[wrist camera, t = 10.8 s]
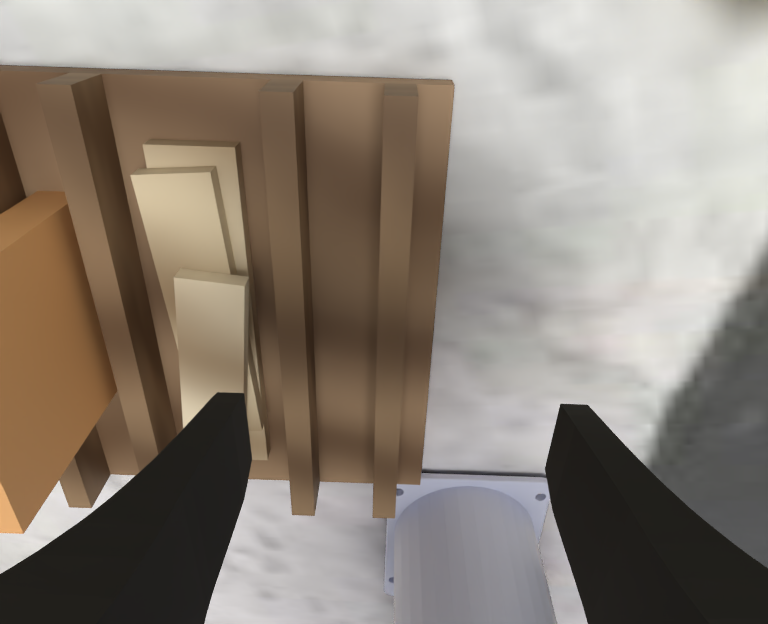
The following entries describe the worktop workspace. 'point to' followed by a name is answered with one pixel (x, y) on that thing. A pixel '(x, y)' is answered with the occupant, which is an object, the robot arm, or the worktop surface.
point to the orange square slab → (45, 355)
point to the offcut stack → (206, 272)
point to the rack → (257, 255)
